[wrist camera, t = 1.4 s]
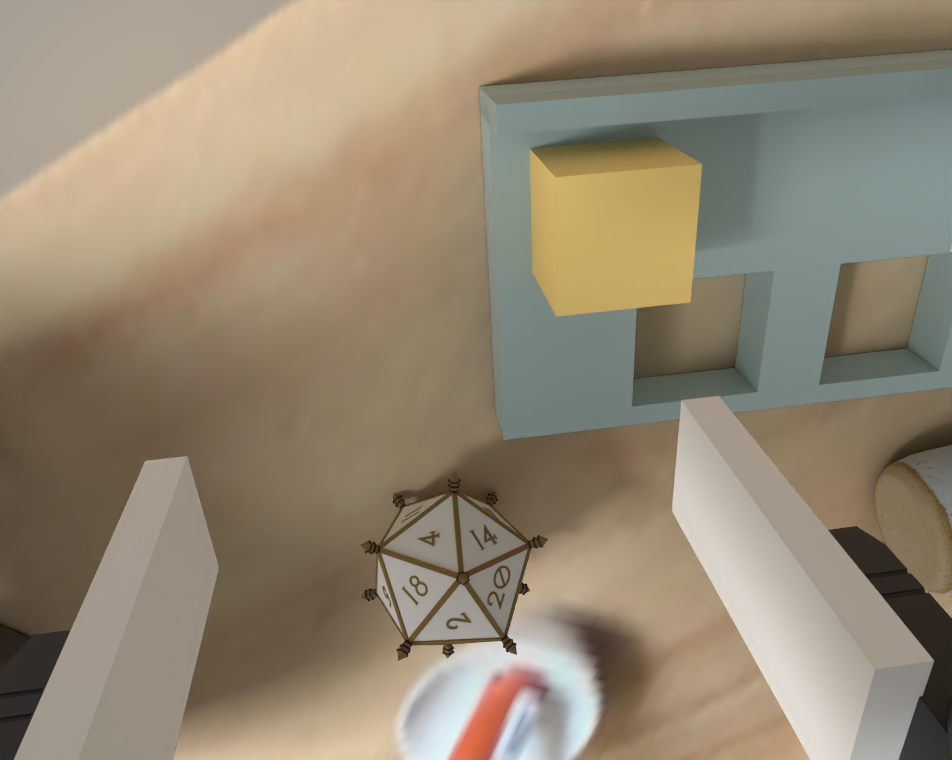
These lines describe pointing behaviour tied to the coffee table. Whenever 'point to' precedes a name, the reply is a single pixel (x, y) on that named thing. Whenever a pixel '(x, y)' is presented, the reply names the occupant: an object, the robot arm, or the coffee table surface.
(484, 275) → the coffee table surface
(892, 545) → the ceramic mug
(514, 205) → the board
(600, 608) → the coffee table surface
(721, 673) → the coffee table surface
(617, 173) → the block
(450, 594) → the game die
